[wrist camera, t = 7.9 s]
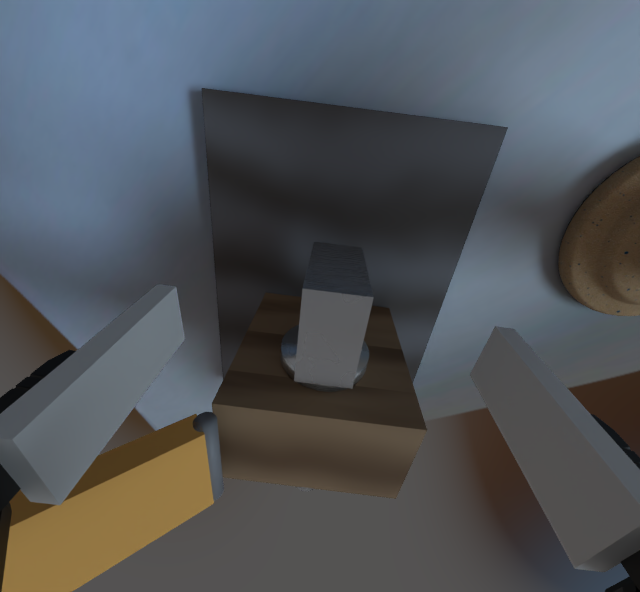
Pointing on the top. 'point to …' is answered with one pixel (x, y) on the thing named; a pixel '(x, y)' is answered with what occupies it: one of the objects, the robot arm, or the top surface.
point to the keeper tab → (115, 507)
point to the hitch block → (292, 262)
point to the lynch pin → (330, 322)
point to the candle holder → (606, 246)
